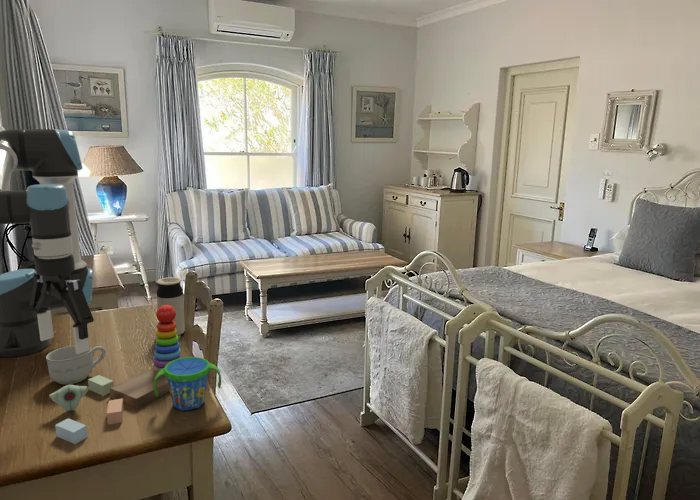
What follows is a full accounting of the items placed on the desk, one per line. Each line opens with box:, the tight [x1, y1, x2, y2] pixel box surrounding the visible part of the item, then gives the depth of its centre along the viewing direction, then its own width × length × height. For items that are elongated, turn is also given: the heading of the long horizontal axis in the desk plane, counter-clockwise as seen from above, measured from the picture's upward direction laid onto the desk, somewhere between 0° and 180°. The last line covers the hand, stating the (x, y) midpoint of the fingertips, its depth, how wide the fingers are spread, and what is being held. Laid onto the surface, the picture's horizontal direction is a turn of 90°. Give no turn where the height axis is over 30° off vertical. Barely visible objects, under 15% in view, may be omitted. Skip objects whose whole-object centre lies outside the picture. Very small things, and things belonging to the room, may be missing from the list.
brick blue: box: [54, 417, 89, 445], centre depth 110 cm, size 6×3×3 cm, turn 64°
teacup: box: [45, 344, 107, 386], centre depth 136 cm, size 14×11×8 cm
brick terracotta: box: [106, 399, 125, 425], centre depth 118 cm, size 6×3×3 cm, turn 20°
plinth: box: [109, 369, 170, 409], centre depth 130 cm, size 10×12×2 cm
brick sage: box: [87, 374, 115, 397], centre depth 130 cm, size 6×3×3 cm, turn 59°
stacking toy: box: [152, 305, 183, 372], centre depth 140 cm, size 8×8×19 cm
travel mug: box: [156, 276, 186, 337], centre depth 166 cm, size 8×8×18 cm
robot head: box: [49, 384, 88, 412], centre depth 120 cm, size 8×4×7 cm, turn 123°
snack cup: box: [154, 356, 222, 411], centre depth 124 cm, size 16×10×10 cm
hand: (64, 345), depth 117 cm, fingers open, 13 cm apart
